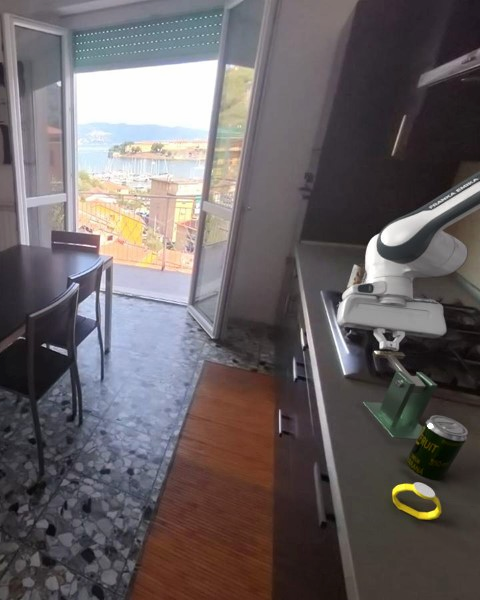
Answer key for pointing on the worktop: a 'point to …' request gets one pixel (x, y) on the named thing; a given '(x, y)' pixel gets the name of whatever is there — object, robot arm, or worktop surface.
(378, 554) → the worktop surface
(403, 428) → the bracket
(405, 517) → the worktop surface
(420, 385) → the lever
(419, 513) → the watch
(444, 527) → the worktop surface
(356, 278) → the coffee box
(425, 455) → the green drink can
